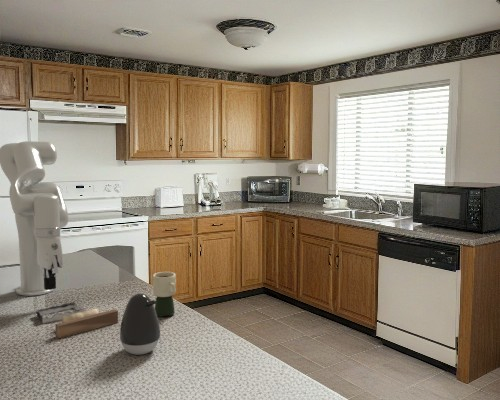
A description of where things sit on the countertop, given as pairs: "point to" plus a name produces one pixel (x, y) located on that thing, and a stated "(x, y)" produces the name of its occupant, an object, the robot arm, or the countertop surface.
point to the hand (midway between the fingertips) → (50, 288)
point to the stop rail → (86, 323)
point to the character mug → (164, 292)
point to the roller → (80, 315)
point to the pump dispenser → (139, 325)
